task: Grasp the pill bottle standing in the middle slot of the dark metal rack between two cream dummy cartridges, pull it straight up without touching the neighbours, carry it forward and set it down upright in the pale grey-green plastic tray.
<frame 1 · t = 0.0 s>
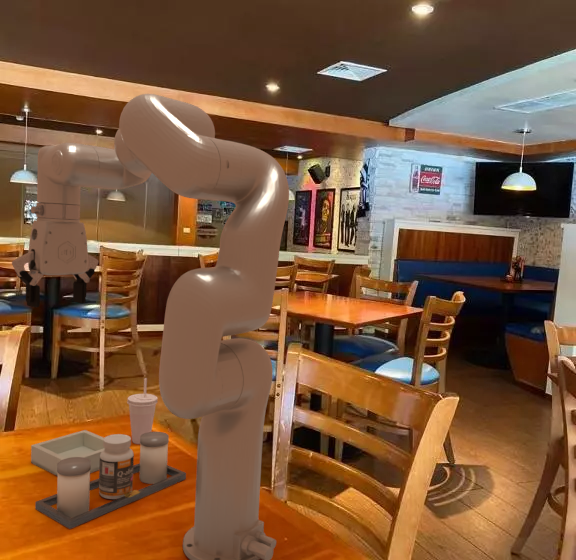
hand: (56, 304, 112), 31 cm above the table, tool pointing down, fingers open, 9 cm apart
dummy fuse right: (153, 477, 111), resting in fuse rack
smoothie: (141, 441, 129), on the table
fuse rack: (115, 492, 104), on the table
tray: (76, 462, 116), on the table
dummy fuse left: (73, 510, 97), resting in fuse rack
pill bottle: (115, 494, 104), resting in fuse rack
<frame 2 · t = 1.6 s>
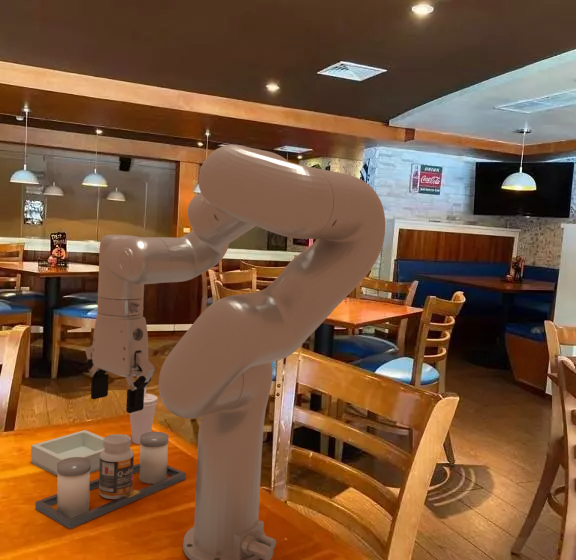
hand: (116, 404, 103), 16 cm above the table, tool pointing down, fingers open, 9 cm apart
nothing on the table moved.
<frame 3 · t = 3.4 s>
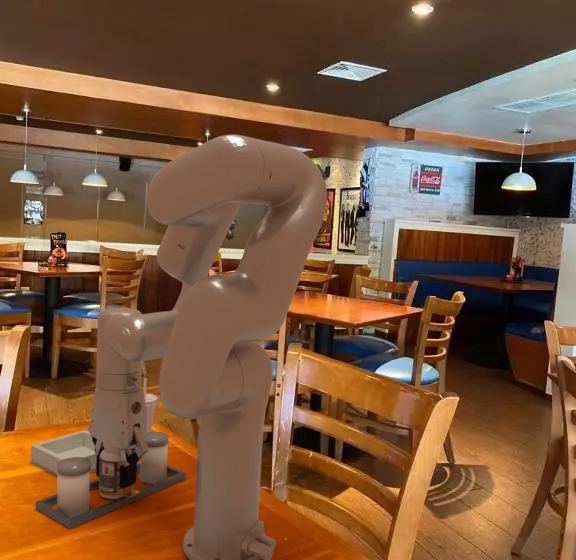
hand: (116, 478, 104), 3 cm above the table, tool pointing down, fingers closed on pill bottle, 5 cm apart
pill bottle: (115, 494, 104), resting in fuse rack, touching gripper
everything else where it was.
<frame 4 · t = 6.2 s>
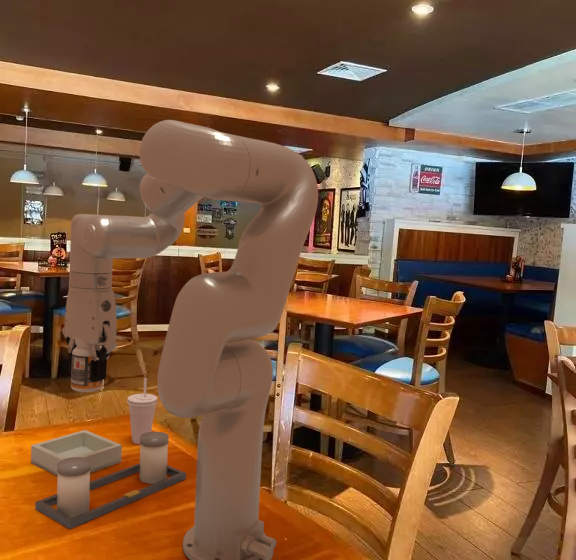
hand: (87, 375, 111), 18 cm above the table, tool pointing down, fingers closed on pill bottle, 5 cm apart
pill bottle: (86, 389, 111), point 16 cm above the table, touching gripper
everything else where it was.
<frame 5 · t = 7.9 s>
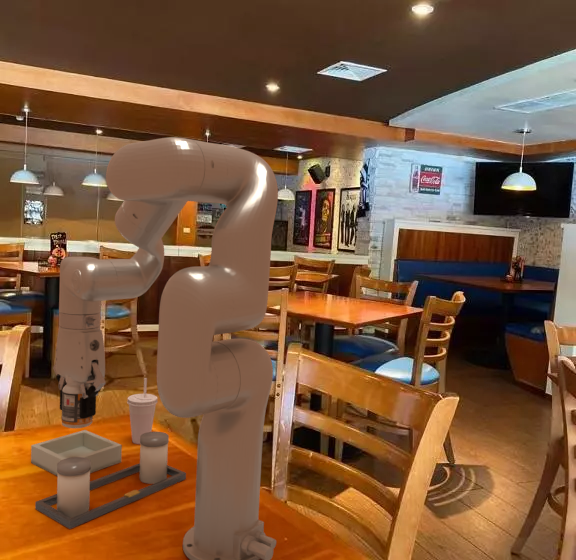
hand: (77, 411, 115), 10 cm above the table, tool pointing down, fingers closed on pill bottle, 5 cm apart
pill bottle: (77, 425, 115), point 7 cm above the table, touching gripper
everything else where it was.
when the fingers open (5 cm above the table, at t = 9.4 s): pill bottle drops 1 cm, resting on tray.
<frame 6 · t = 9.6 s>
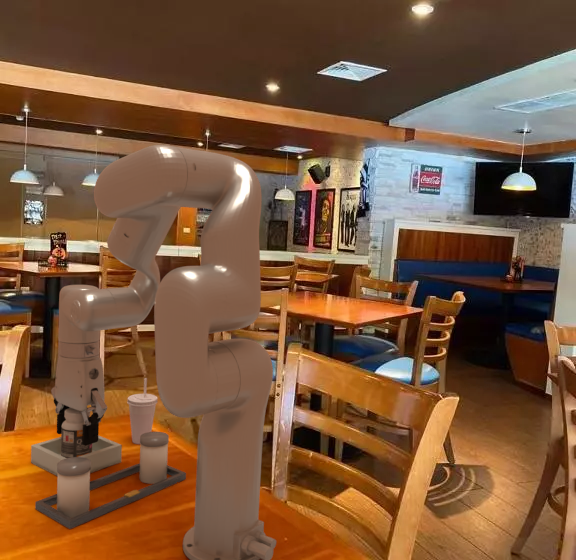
hand: (77, 437, 115), 5 cm above the table, tool pointing down, fingers open, 7 cm apart
pill bottle: (76, 460, 116), resting on tray
everything else where it was.
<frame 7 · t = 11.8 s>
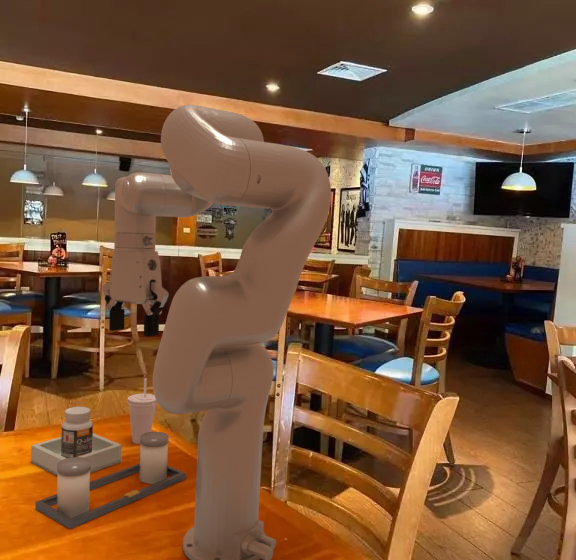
hand: (133, 332, 113), 27 cm above the table, tool pointing down, fingers open, 9 cm apart
nothing on the table moved.
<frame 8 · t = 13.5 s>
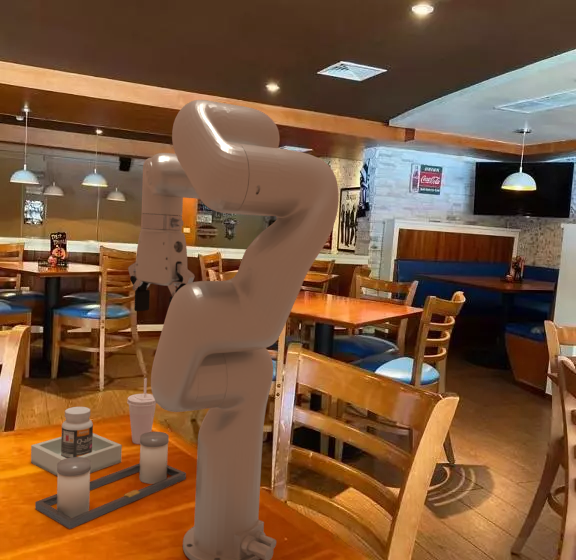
hand: (158, 313, 113), 30 cm above the table, tool pointing down, fingers open, 9 cm apart
nothing on the table moved.
at the end: pill bottle inside the target area on the tray (0.0 cm from its centre), point 0.4 cm above the tray's base; pill bottle tilted 0°; the gripper is holding nothing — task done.
